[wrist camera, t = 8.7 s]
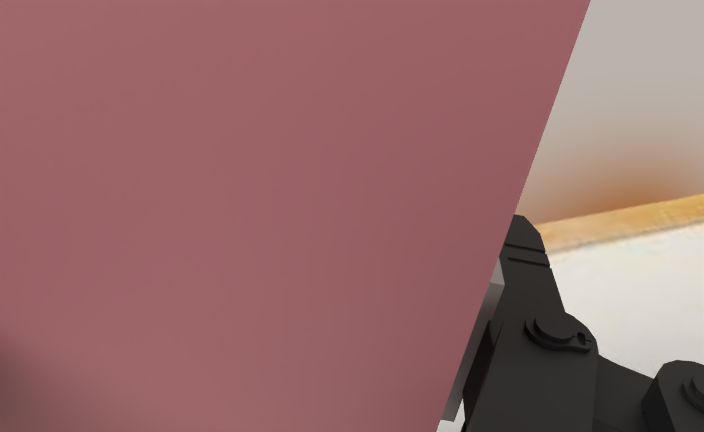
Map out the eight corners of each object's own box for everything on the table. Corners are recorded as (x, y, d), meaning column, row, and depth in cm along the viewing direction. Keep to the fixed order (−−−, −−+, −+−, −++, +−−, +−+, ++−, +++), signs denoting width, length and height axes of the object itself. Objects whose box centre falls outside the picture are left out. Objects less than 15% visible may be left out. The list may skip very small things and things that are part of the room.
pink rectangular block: (333, 528, 19) (578, -389, 9) (307, 792, 14) (836, -681, 4) (123, 493, 19) (116, -492, 8) (19, 748, 14) (-328, -960, 3)
